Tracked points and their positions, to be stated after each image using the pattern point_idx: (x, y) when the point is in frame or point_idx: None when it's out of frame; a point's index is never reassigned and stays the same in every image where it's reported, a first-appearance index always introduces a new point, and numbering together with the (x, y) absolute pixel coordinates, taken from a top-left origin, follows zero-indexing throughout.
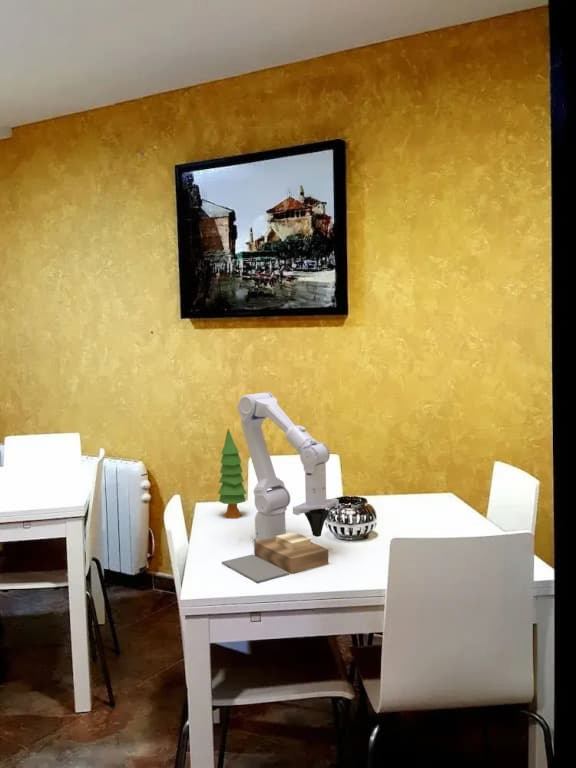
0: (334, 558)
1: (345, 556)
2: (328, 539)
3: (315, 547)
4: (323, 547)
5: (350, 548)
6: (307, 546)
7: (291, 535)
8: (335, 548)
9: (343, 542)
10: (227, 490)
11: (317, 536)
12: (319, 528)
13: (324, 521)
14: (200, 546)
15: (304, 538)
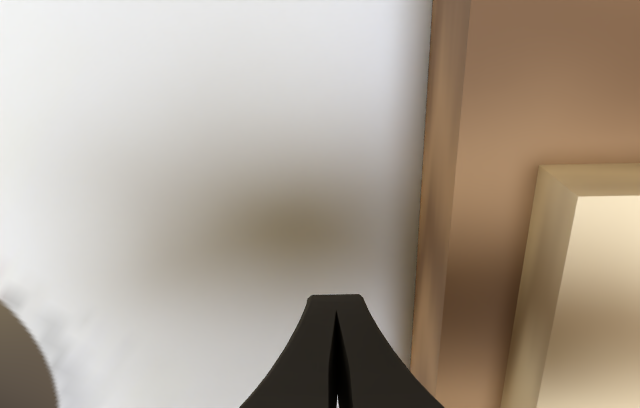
0: (298, 42)
1: (184, 23)
2: (97, 404)
3: (543, 90)
4: (474, 31)
5: (40, 167)
6: (590, 164)
7: (633, 404)
8: (151, 237)
9: (27, 305)
10: None
11: (357, 294)
12: (343, 340)
13: (253, 396)
14: None
15: (622, 250)
